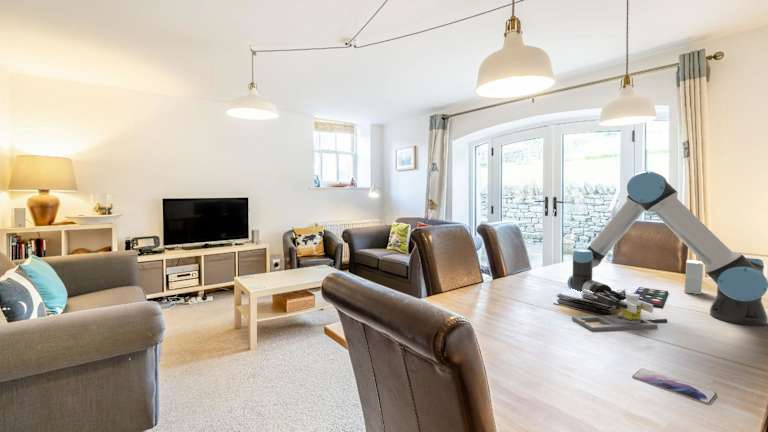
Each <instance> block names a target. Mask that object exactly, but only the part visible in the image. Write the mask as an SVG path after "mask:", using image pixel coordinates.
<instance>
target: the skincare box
mask: <svg viewBox="0 0 768 432" xmlns="http://www.w3.org/2000/svg"><path fill="white" fill-rule="evenodd" d="M685 263H686V264H685V280H684V290H683V291H684V292H685V294H689V293H694V294H693V295H696V294H702V283H703V265H704V263H703V262H702V261H701V260H695V259H686V262H685ZM684 292H683V293H684Z"/></svg>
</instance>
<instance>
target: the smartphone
mask: <svg viewBox="0 0 768 432" xmlns="http://www.w3.org/2000/svg"><path fill="white" fill-rule="evenodd" d="M631 378H632V379H635V380H637V381H639V380H640V382H642V381H643V383H645V382H646V383H645V384H648V385H651V386H653V385H654V387H656V386H657V388H659V387H660V389H662V390H664V391H667V390H669V391H668V392H670V391H671V392H670V393H673V392H675V393H674V394H676V393H677V394H676V395H679V394H680V395H679V396H681V395H683V396H682V397H684V396H686V397H685V398H687V397H688V398H687V399H690V398H691V400H693V401H695V400H696V401H695V402H699V403H701V404H704V405H707V404H708V406H710V404H711V403H712V404H713V403H714V401H715V400H716V398H718V393H717V392H716V391H712V390H709V389H706V388H703V387H700V386H697V385H694V384H691V383H689V382H685V381H681V380H680V379H677V378H674V377H670V376H666V375H664V374H662V373H659V372H655V371H652V370H649V369H646V368H640V369H639V370H638V371H637V372H635V373H634V374H632V376H631ZM714 399H715V400H714ZM712 404H711V405H712Z"/></svg>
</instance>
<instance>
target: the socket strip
mask: <svg viewBox="0 0 768 432" xmlns="http://www.w3.org/2000/svg"><path fill="white" fill-rule="evenodd" d="M571 320H572V321H573V322H575V323H578V324H579V325H581V326H583V327H584V328H585V329H588V330H590V331H592V332H597V331H598V332H600V331H601V332H602V331H621V330H622V331H625V330H646V329H647V330H648V329H658V327H659V326H658V324H656V323H667V322H668V319H667V318H660V319H659V318H657V319H656V318H655V319H654V318H653V319H646V318H642V317H641V320H640V323H629V322H626V321H624V320H623V319H622V314H604V315H602V314H601V315H580V316H578V315H577V316H572V317H571ZM589 322H599V323H601V324H594V325H593V324H591V323H589Z"/></svg>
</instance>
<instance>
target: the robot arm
mask: <svg viewBox="0 0 768 432" xmlns="http://www.w3.org/2000/svg"><path fill="white" fill-rule="evenodd" d="M626 191H627V196H626V201H625V202H624V204H623V205H622V206H621V207H620V209H619V210H618V211H617V212H616V214H614V216H613V217H612V218H611V220H610V221H608V223H607V224H606V225H605V227H603V229H602V230H601V232H600V233H599V234H598V235H597V236H596V238H595V239H594V240H593V241H592V242H591V243H590V245H589V246H588V247H587V248H586V249H583V248H582V249H581V248H579V249H574V250H573V252H572V253H573V254H572V275H570V276H569V277H568V279H567V286H568V288H569V290H571V288H572V289H575V290H577V291H580V292H581V291H583V290H584V289H586V290H590V291H592V292H594V293H593V300H592V301H595V300H596V302H598V301H599V302H598V303H600V302H601V304H604V305H606V306H609V307H610V308H614V307H615V309H616V310H620V309H622V310H623V309H625V310H627V311H630V312H632V313H637V306H636V305H634V304H631V303H628V302H626V301H623V300H624V299H626V297H625V296H626V293H627V292H625V291H622V292H619V291H615V290H612V288H611V287H610V286H609V285H608V284H605V283H603V282H602V283H601V282H599V281H596V280H593V268H595V267H598V266H599V265H600V264H601V262H602V261H603V259H604V258H605V257H606V256H607V254H609V252H610V251H611V250H612V249H613V248H614V247H615V245H616V244H617V243H618V242H619V241H620V240H621V238H622V237H623V236H624V235H625V234H626V233H627V232H628V231H629V229H631V227H632V226H634V225H633V224H635V223H636V221H637V220H638V219H639V218H640V216H641V215H642V214H643V213H644V212H645V211H646V212H647V213H653V214H655V216H657V217H658V218H659V219H660V221H662V222H663V223H664V224H665V225H666V227H667V228H669V230H671V232H672V233H674V235H675V236H676V237H677V238H678V239H679V240H680V241H681V243H683V244H684V245H685V246H686V247H687V248H688V249H689V250H690V251H691V252H692V253H693V254H694V255H695V256H696V257H697V259H698V260H699V261H702V262H703V263H702V264H703V265H704V266H705V268H704V272H705V273H706V274H707V276H708V277H709V278H710V279H711V280H712V281H713V282H714V283H715V284H716V285H717V287H716V288H717V290H716V296H715V298H714V300H713V302H712V304H711V306H710V309H709V315H710V316H711V317H713V318H716V319H717V320H721V321H726V322H729V323H734V324H740V325H748V326H759V327H760V326H766V325H768V315H767V313H766V309H765V307H764V304H763V302H762V298H763V296H764V295H765V294H766V293H767V291H768V279H767V277H766V276H765V275H764V269H765V266H764V261H763V260H762V259H760V258H752V257H751V258H750V257H745V255H743V254H742V253H741V252H734V251H732V250H731V249H730V248H728V246H726V244H725V243H724V242H723V241H721V240H720V238H718V237H717V236H716V235H715V234H714V232H712V231H711V230H710V229H709V227H707V226H706V225H705V224H704V223H703V222H702V221H701V219H699V218H698V217H697V215H696V216H695V215H694V213H692V212H691V210H690V209H688V208H687V206H685V205H684V204H683V203H682V202H681V200H680V199H679V198H678V191H677V190H676V189H675V188H674V187H672V185H671V184H670V183H668V181H667V179H666V178H665V176H663V175H661V174H660V173H658V172H654V171H649V170H646V171H641V172H638V173H636V174H634V175H633V176H632V177H631V178H630V179H629V180H628V181H627V185H626ZM638 301H640V302H641V310H643V311H646V312H648V313H652V314H653V313H654V307H653V305H652V304H649V303H646V302H643V299H642V298H640V297H639V300H638Z"/></svg>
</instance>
